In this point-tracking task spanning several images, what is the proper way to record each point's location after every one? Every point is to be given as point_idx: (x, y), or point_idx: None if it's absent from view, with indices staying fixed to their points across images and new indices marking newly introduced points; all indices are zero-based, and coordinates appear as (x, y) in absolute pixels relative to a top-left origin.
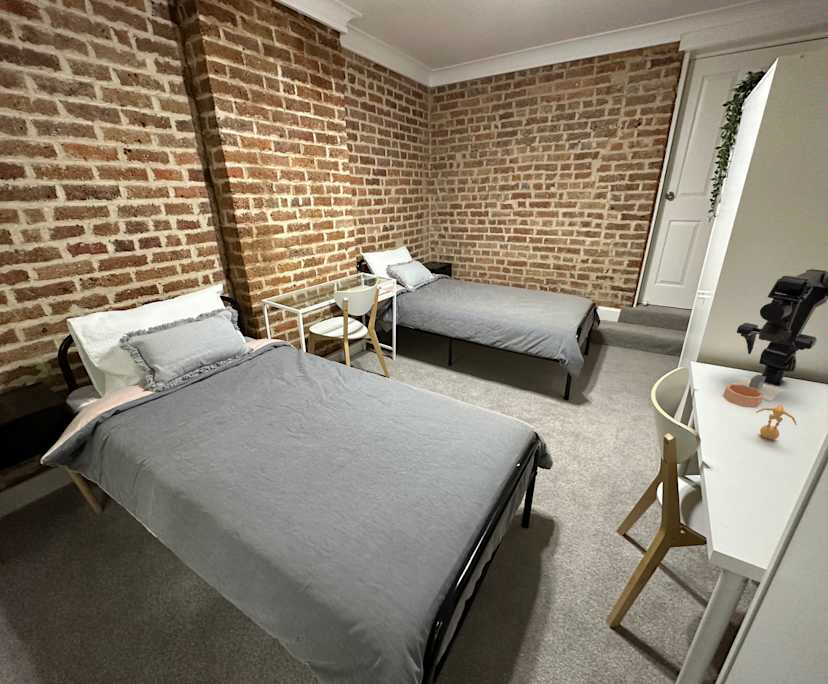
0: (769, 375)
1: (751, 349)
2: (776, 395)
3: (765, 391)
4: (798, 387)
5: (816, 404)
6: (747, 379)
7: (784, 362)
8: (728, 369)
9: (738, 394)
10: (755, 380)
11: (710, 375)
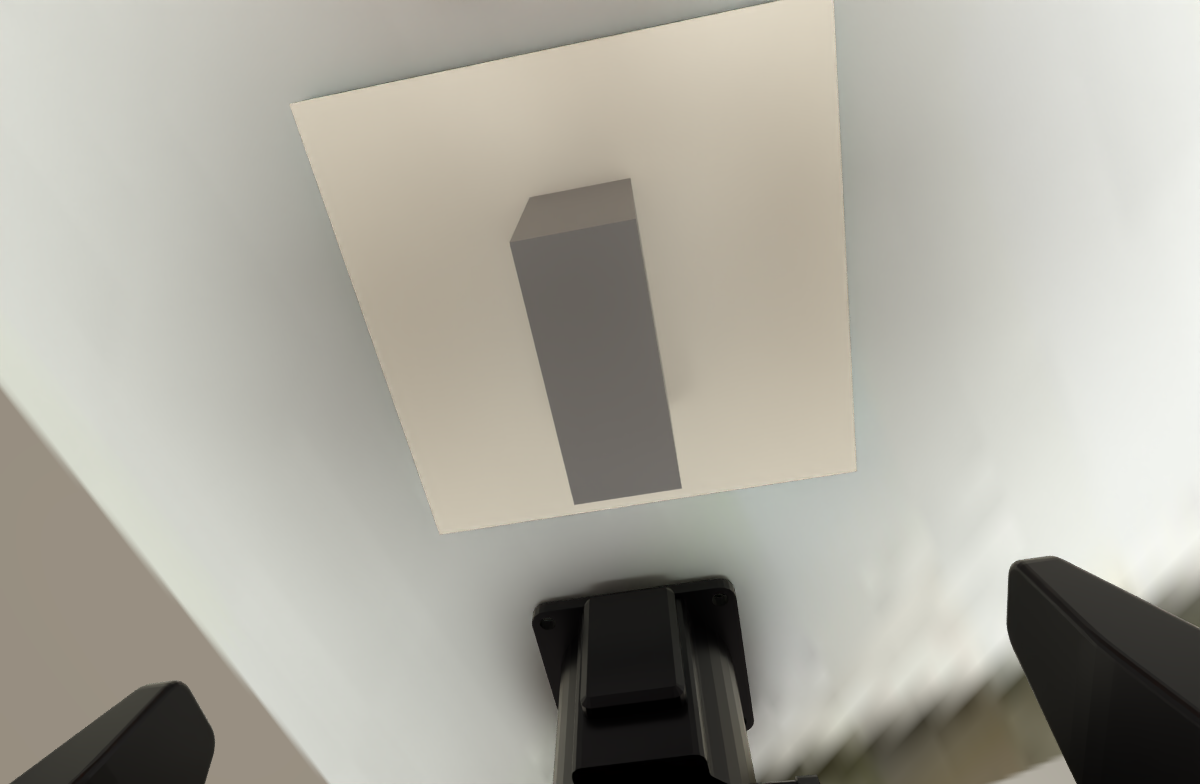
0: (635, 659)
1: (1111, 730)
2: (365, 320)
3: (486, 317)
4: (457, 732)
5: (156, 526)
6: (776, 471)
7: (140, 695)
8: None
9: None
10: (575, 229)
11: (1142, 237)
